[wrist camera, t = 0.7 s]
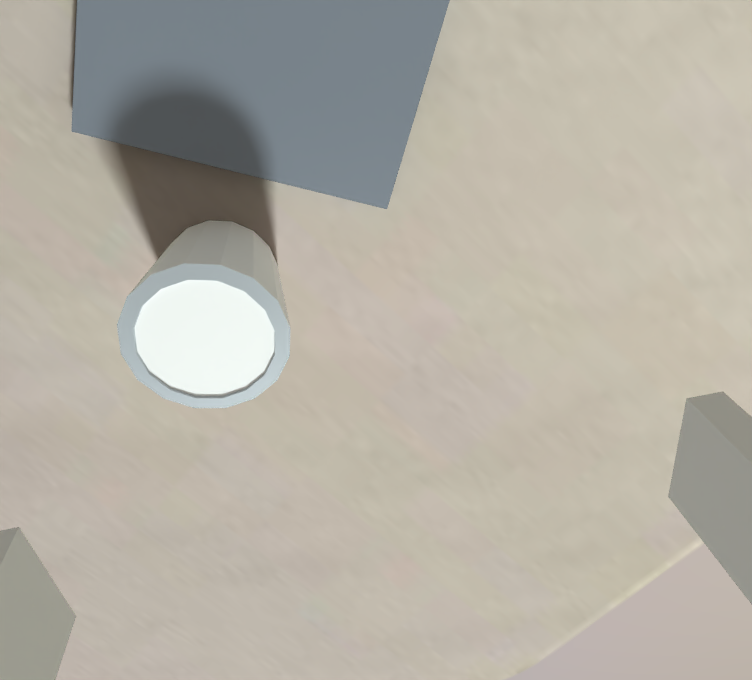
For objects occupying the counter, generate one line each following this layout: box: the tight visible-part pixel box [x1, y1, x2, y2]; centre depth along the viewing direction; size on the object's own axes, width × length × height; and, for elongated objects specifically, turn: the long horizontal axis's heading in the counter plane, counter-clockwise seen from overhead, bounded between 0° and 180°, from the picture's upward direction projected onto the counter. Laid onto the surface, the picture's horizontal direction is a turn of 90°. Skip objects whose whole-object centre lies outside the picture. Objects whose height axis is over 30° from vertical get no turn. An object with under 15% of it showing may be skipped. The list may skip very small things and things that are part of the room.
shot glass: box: [117, 220, 290, 408], centre depth 27 cm, size 7×7×7 cm
